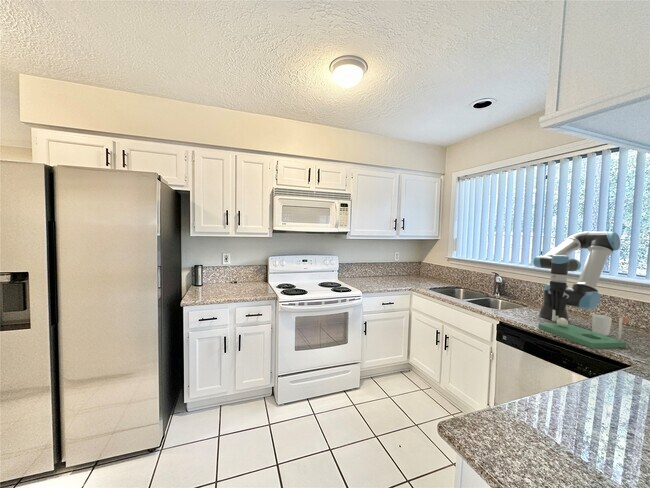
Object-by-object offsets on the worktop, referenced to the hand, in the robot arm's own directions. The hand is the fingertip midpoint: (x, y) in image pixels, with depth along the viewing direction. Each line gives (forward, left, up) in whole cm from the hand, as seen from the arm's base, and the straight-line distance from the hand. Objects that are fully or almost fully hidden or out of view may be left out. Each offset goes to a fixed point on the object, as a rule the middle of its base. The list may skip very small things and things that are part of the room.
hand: (555, 320), depth 159 cm
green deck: (-1, +13, -5) cm, 14 cm away
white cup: (-20, +9, -5) cm, 23 cm away
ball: (0, +4, 0) cm, 4 cm away
